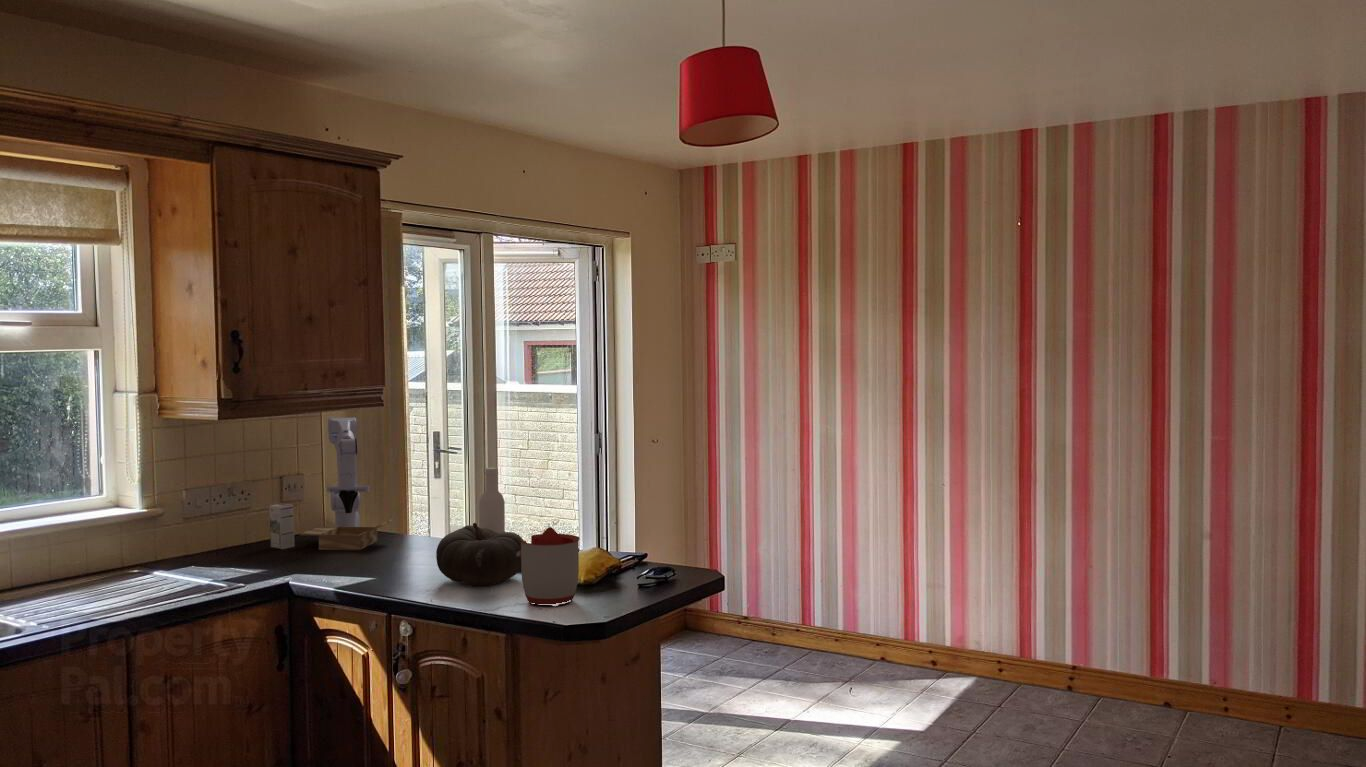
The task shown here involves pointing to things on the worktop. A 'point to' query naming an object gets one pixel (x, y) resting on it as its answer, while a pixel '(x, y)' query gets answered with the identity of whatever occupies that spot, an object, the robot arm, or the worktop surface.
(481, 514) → the bottle
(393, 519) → the carton flap
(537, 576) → the citrus juicer
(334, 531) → the carton
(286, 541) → the syrup box
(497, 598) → the worktop surface
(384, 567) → the worktop surface
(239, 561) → the worktop surface
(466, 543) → the gourd
